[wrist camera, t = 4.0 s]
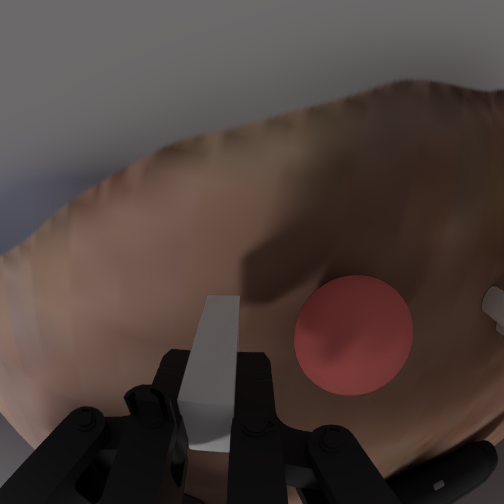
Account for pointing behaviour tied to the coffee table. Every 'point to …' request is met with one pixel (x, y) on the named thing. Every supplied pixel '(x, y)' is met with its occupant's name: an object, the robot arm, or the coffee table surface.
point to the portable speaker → (449, 476)
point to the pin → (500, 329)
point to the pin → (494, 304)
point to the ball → (353, 335)
